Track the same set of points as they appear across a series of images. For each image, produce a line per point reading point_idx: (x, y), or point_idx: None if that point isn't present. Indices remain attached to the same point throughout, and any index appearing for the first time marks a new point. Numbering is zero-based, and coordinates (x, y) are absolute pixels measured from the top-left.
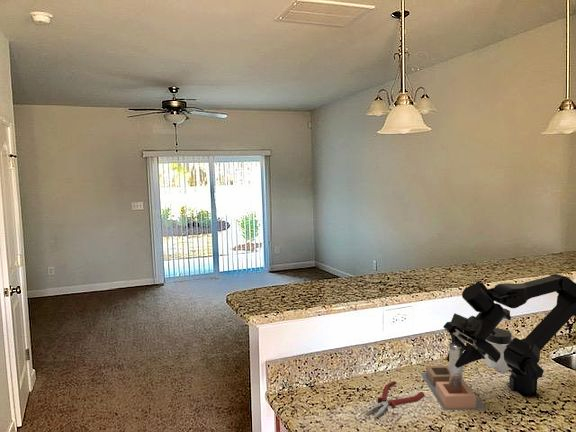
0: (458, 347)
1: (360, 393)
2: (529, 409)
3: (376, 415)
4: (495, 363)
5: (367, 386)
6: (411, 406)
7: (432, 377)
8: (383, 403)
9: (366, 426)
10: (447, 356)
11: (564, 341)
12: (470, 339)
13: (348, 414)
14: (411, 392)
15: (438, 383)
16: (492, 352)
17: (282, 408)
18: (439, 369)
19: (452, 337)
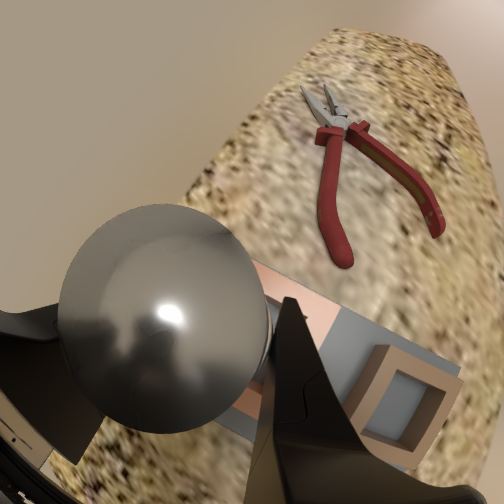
0: (77, 260)
1: (423, 136)
2: (115, 477)
3: (303, 90)
4: None
5: (451, 172)
6: (315, 194)
7: (395, 348)
8: (341, 120)
9: (289, 75)
10: (297, 310)
11: None
12: (7, 489)
13: (344, 74)
14: (388, 256)
15: (323, 305)
16: None
17: (394, 37)
18: (424, 424)
19: (373, 477)
